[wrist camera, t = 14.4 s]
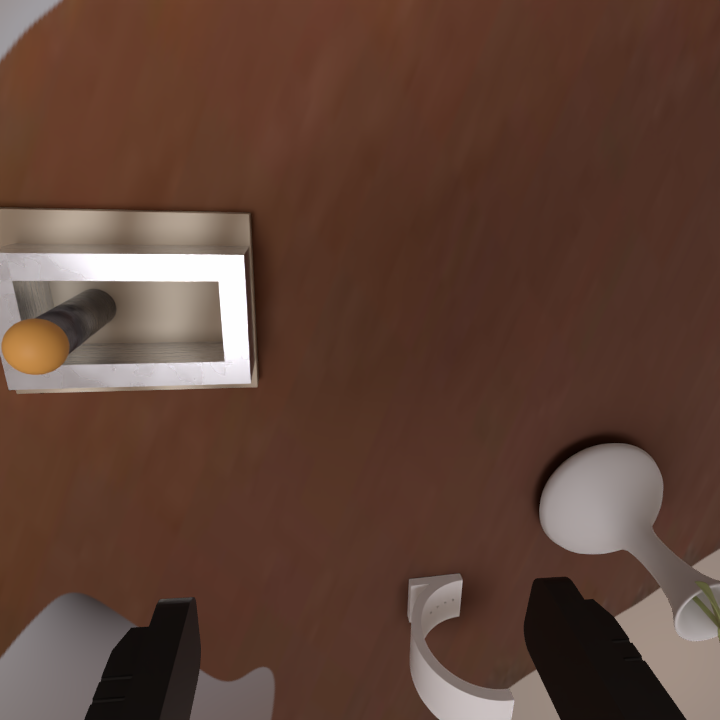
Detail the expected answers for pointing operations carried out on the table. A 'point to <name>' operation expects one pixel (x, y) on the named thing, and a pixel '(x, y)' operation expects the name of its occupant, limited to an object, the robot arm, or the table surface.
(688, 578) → the flower in vase
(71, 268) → the steel link
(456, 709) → the headphone stand
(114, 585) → the table surface
